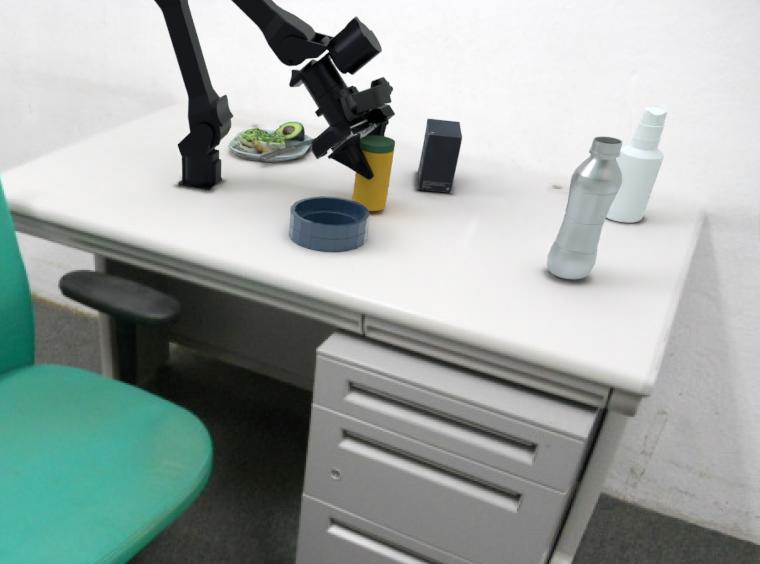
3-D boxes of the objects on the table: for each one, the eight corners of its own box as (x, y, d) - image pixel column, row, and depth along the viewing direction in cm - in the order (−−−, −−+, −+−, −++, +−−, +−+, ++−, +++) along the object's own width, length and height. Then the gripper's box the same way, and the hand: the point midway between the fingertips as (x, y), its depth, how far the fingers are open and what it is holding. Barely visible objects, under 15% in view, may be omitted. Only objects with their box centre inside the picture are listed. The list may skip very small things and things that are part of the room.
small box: (452, 194, 142) (464, 136, 136) (417, 191, 143) (426, 133, 137) (450, 175, 151) (461, 120, 144) (416, 172, 152) (425, 117, 145)
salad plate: (302, 172, 151) (304, 148, 148) (216, 161, 155) (216, 138, 152) (322, 143, 166) (324, 121, 163) (243, 134, 170) (244, 113, 167)
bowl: (277, 247, 122) (279, 217, 119) (303, 220, 131) (305, 191, 128) (353, 262, 118) (357, 231, 115) (374, 233, 127) (378, 203, 124)
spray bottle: (640, 211, 137) (676, 106, 126) (643, 225, 131) (682, 117, 121) (598, 206, 138) (631, 102, 128) (600, 220, 133) (635, 112, 122)
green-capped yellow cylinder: (347, 207, 132) (355, 143, 126) (357, 196, 136) (364, 133, 130) (380, 213, 130) (390, 148, 124) (389, 201, 134) (398, 138, 128)
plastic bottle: (536, 266, 118) (572, 133, 106) (578, 265, 118) (619, 133, 107) (554, 285, 113) (595, 148, 101) (598, 284, 113) (644, 147, 101)
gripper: (334, 72, 116) (389, 161, 117) (392, 52, 128) (442, 133, 129) (287, 116, 124) (339, 198, 125) (346, 94, 136) (392, 169, 137)
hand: (380, 173), depth 129 cm, fingers closed on green-capped yellow cylinder, 6 cm apart
